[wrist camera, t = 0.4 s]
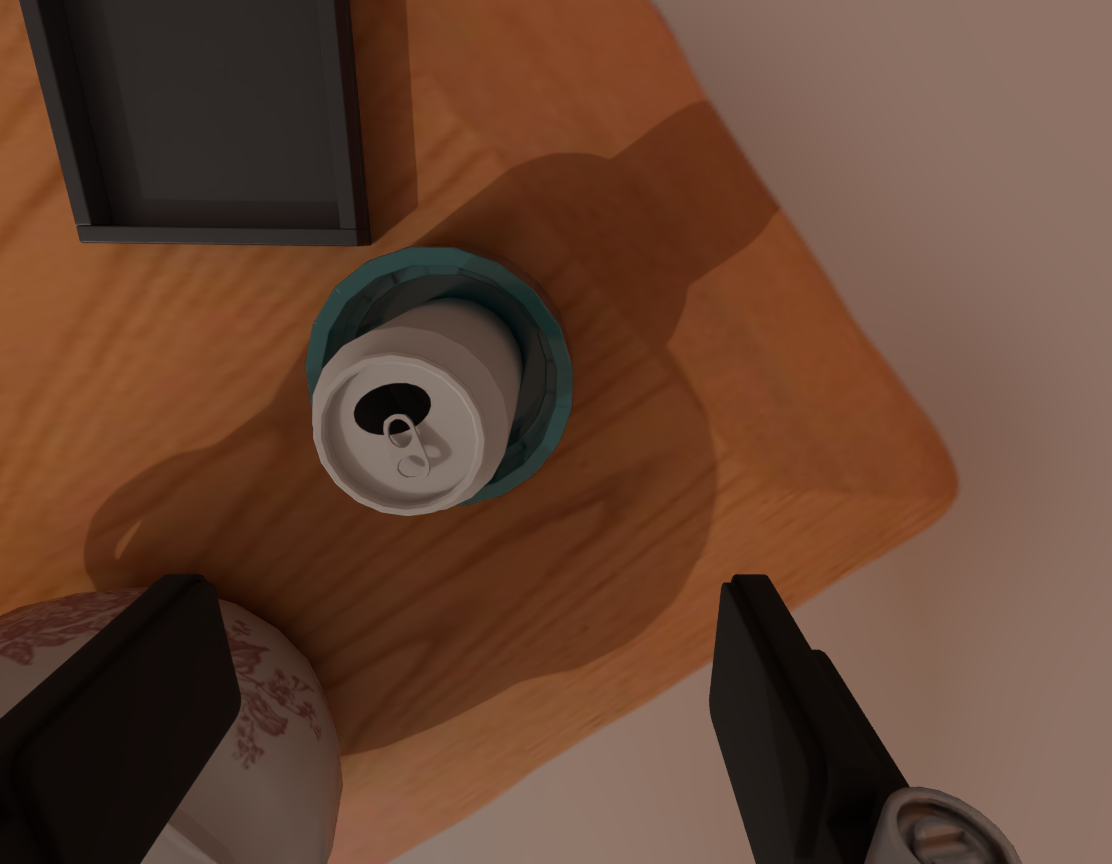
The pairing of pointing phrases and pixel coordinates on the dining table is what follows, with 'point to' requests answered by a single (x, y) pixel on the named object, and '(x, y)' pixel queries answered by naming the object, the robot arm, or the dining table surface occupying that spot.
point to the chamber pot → (243, 754)
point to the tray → (205, 119)
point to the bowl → (489, 283)
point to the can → (419, 407)
